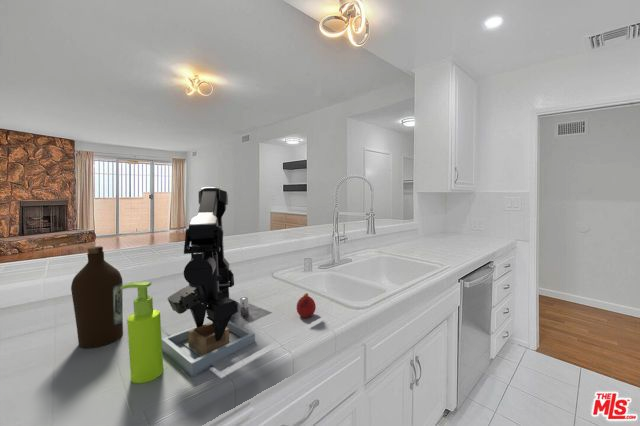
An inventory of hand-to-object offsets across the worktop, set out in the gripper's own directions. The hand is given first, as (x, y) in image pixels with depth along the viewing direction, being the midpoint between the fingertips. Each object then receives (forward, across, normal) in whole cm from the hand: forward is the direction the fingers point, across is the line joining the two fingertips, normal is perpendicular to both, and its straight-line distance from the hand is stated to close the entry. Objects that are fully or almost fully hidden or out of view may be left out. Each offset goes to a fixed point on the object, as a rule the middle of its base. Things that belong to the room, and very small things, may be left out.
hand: (208, 334), depth 70 cm
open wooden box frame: (+3, 0, 0) cm, 3 cm away
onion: (+4, +8, +27) cm, 28 cm away
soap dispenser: (+4, -1, -14) cm, 15 cm away
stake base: (+4, -8, +16) cm, 18 cm away
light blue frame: (+4, 0, 0) cm, 4 cm away
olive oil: (+4, -27, -16) cm, 32 cm away
